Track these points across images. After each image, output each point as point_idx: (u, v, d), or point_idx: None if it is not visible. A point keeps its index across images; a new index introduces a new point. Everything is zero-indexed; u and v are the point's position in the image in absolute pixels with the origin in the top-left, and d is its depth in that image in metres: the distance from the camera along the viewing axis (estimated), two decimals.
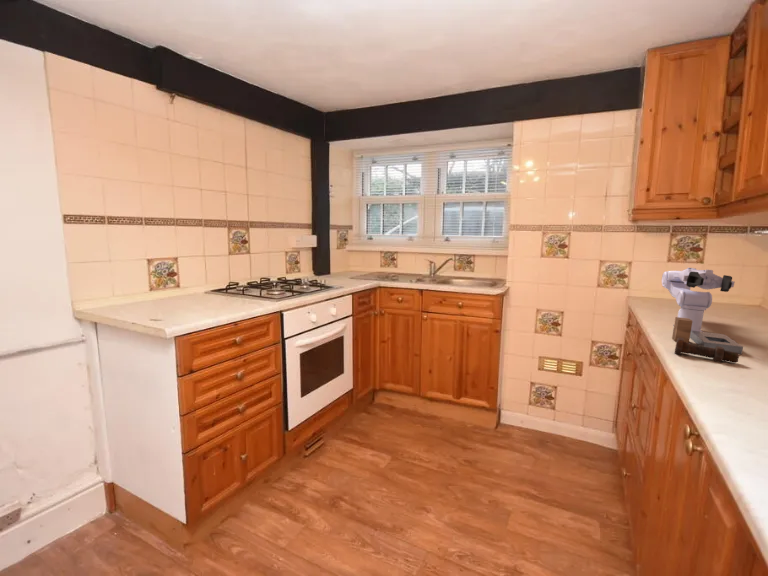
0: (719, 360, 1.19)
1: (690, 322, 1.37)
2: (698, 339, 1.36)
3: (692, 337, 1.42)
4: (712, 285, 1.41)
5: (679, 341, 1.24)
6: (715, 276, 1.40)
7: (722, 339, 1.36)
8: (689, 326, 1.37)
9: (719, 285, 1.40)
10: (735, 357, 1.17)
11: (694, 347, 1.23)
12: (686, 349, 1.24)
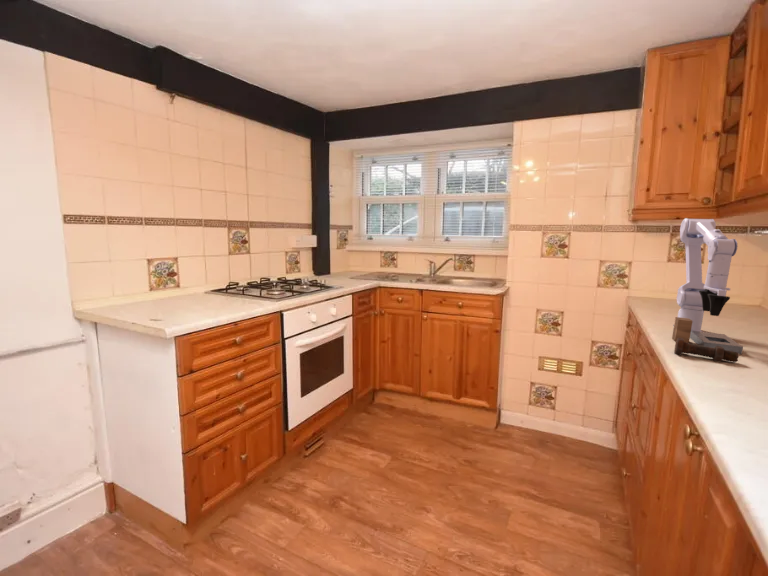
0: (719, 360, 1.19)
1: (690, 322, 1.37)
2: (698, 339, 1.36)
3: (692, 337, 1.42)
4: None
5: (679, 341, 1.24)
6: None
7: (722, 339, 1.36)
8: (689, 326, 1.37)
9: None
10: (735, 356, 1.18)
11: (694, 347, 1.23)
12: (686, 350, 1.24)
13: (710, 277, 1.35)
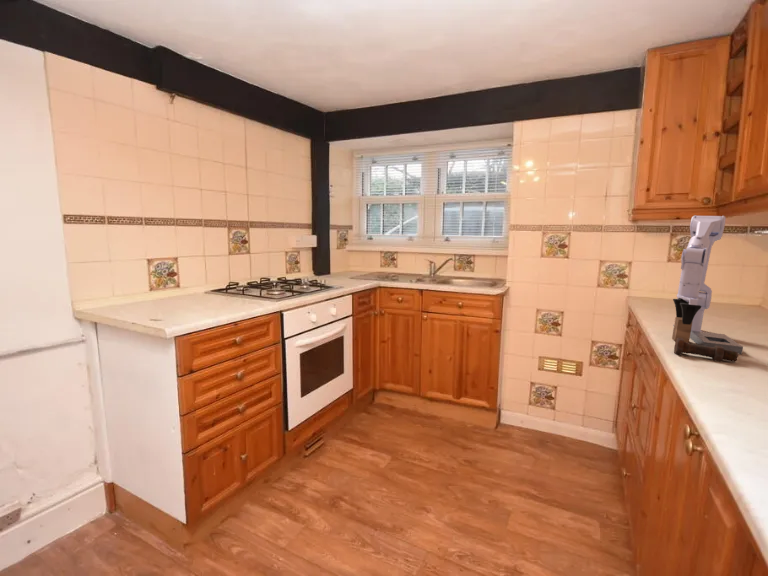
0: (719, 359, 1.20)
1: None
2: (698, 339, 1.36)
3: (692, 337, 1.42)
4: None
5: (679, 341, 1.24)
6: None
7: (722, 339, 1.36)
8: (689, 326, 1.37)
9: None
10: (735, 356, 1.18)
11: (694, 347, 1.23)
12: (686, 350, 1.24)
13: (682, 286, 1.36)
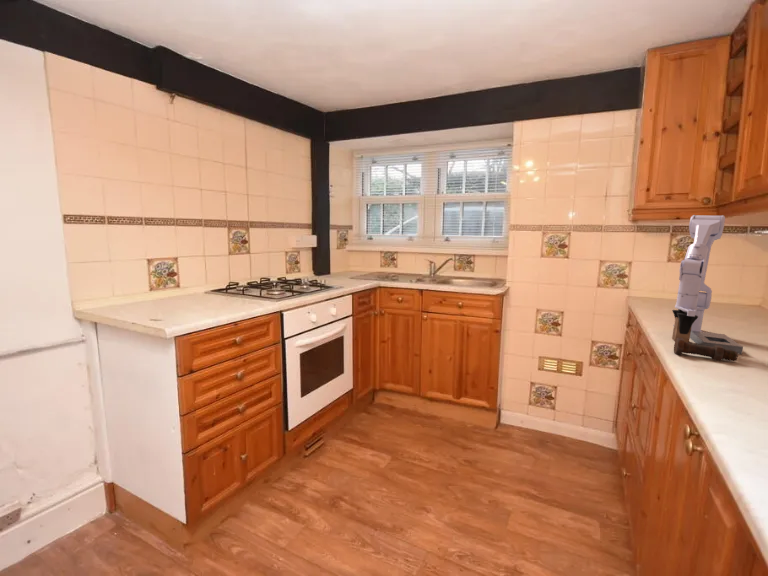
0: (719, 359, 1.20)
1: None
2: (698, 339, 1.36)
3: (692, 337, 1.42)
4: None
5: (680, 341, 1.24)
6: None
7: (722, 339, 1.36)
8: None
9: None
10: (734, 355, 1.19)
11: (694, 347, 1.23)
12: (686, 349, 1.24)
13: (681, 297, 1.37)
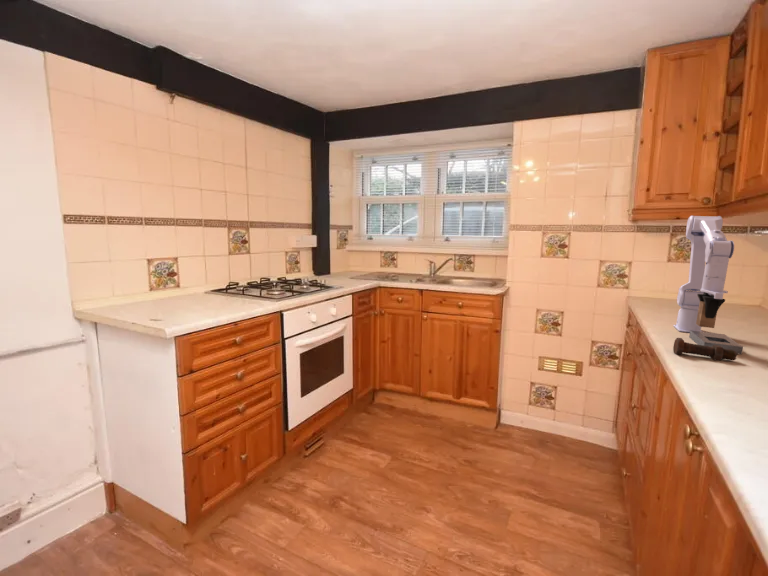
0: (719, 359, 1.21)
1: None
2: (698, 339, 1.36)
3: (692, 337, 1.42)
4: None
5: (680, 341, 1.24)
6: None
7: (722, 339, 1.36)
8: None
9: None
10: (734, 355, 1.19)
11: (694, 347, 1.23)
12: (686, 349, 1.24)
13: (707, 279, 1.32)
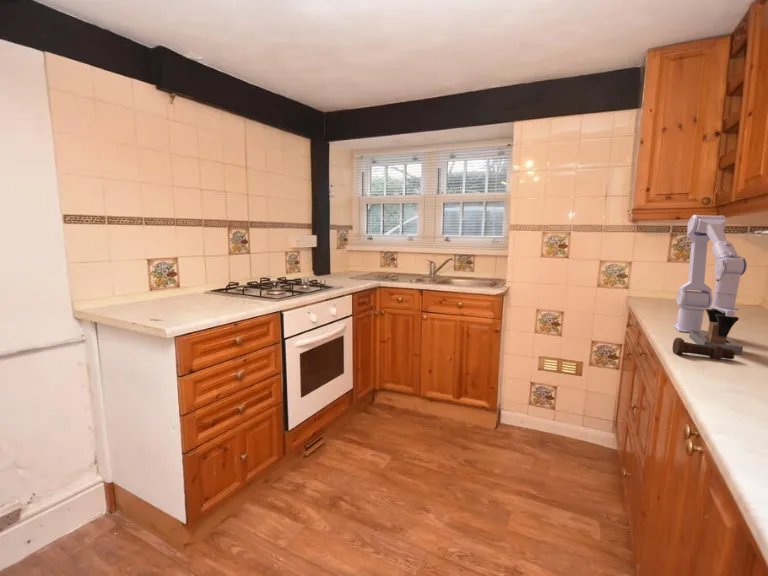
0: (718, 358, 1.21)
1: None
2: (698, 339, 1.36)
3: (692, 337, 1.42)
4: None
5: (680, 341, 1.24)
6: None
7: None
8: None
9: None
10: (732, 354, 1.20)
11: (694, 347, 1.23)
12: (686, 349, 1.24)
13: (718, 296, 1.31)
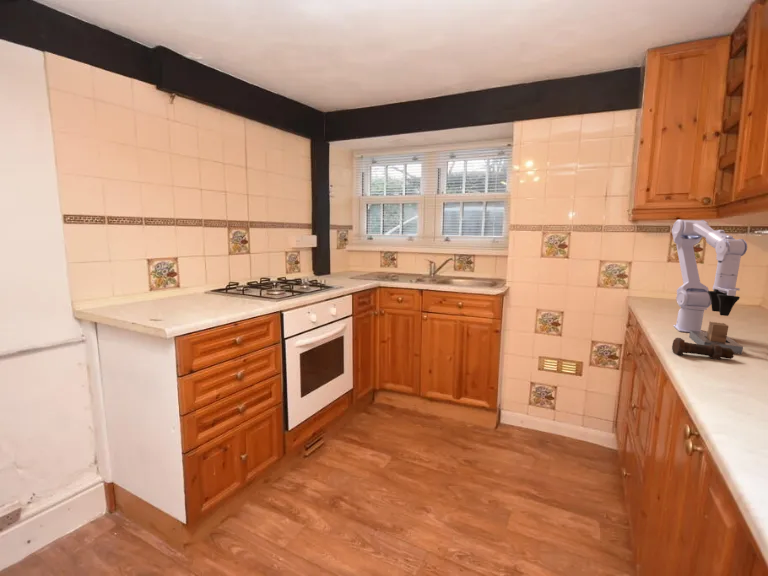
0: (717, 357, 1.22)
1: (726, 327, 1.31)
2: (698, 339, 1.36)
3: (692, 337, 1.42)
4: None
5: (681, 341, 1.24)
6: None
7: None
8: (725, 331, 1.31)
9: None
10: (731, 353, 1.21)
11: (694, 347, 1.23)
12: (687, 349, 1.24)
13: (719, 277, 1.36)
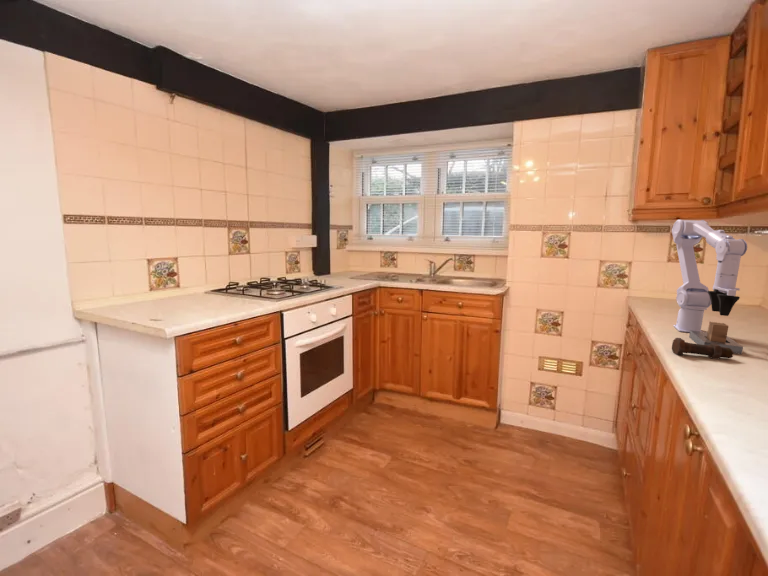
0: (717, 357, 1.22)
1: (726, 327, 1.31)
2: (698, 339, 1.36)
3: (692, 337, 1.42)
4: None
5: (681, 342, 1.24)
6: None
7: None
8: (725, 331, 1.31)
9: None
10: (731, 353, 1.21)
11: (694, 347, 1.23)
12: (687, 349, 1.24)
13: (719, 277, 1.36)
